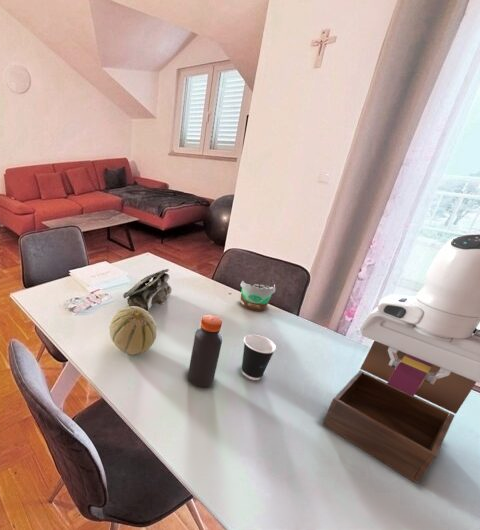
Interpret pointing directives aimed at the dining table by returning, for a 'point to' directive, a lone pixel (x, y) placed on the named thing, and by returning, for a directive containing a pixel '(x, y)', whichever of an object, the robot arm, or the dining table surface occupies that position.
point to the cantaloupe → (133, 330)
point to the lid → (440, 393)
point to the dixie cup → (256, 355)
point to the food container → (255, 296)
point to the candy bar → (409, 374)
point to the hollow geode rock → (150, 291)
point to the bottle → (205, 351)
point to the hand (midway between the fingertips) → (410, 373)
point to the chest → (389, 424)
